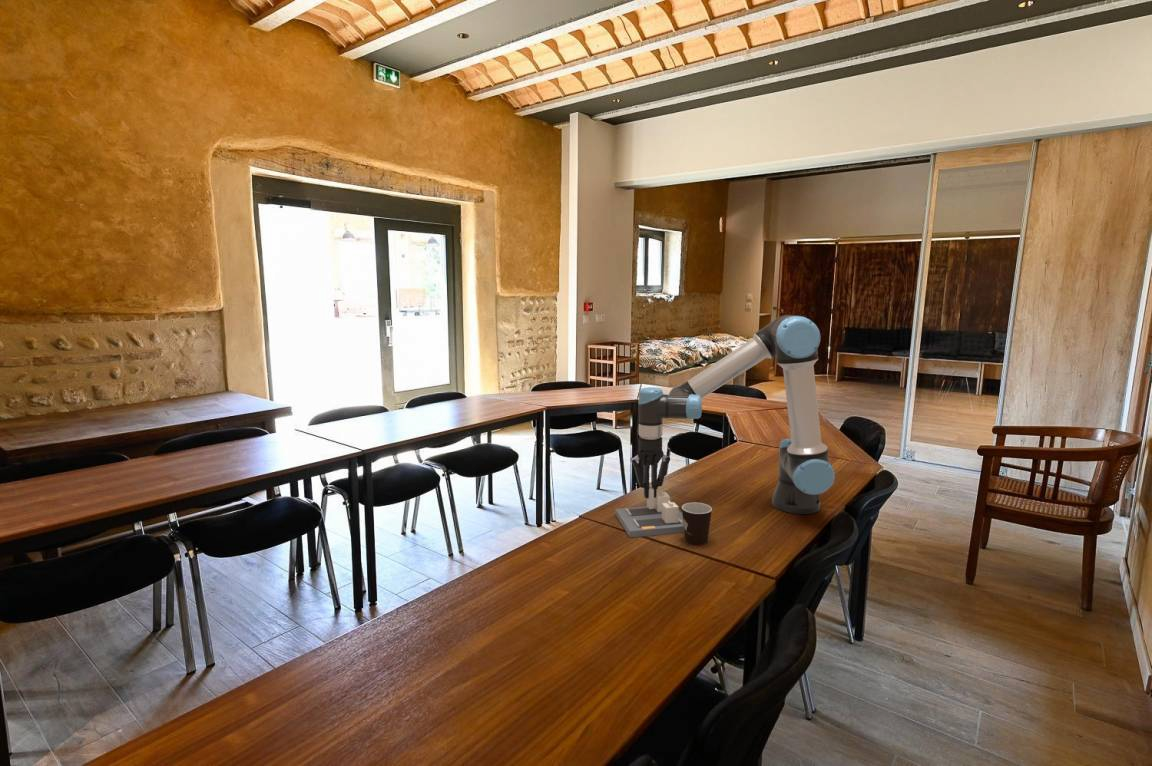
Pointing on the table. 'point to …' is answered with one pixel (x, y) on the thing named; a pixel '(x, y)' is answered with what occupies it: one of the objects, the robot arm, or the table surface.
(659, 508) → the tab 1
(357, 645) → the table surface
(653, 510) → the switch board
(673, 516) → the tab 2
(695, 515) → the coffee mug
